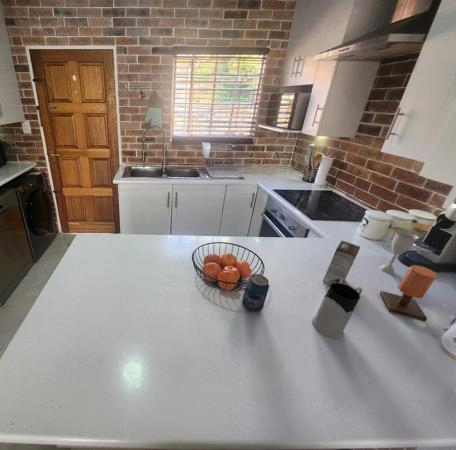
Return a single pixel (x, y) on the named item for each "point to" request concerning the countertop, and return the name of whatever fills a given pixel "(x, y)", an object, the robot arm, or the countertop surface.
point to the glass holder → (336, 309)
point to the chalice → (399, 248)
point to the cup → (417, 281)
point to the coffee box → (341, 263)
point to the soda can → (255, 293)
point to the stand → (402, 305)
